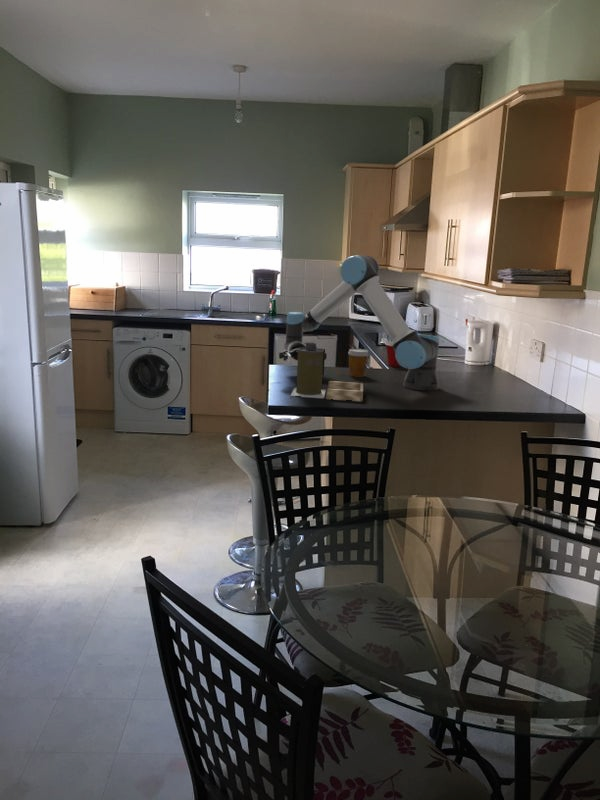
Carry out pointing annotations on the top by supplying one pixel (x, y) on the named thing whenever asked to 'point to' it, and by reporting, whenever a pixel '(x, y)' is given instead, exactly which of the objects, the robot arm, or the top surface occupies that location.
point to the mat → (309, 395)
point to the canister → (310, 369)
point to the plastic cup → (391, 355)
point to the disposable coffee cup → (357, 362)
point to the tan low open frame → (345, 391)
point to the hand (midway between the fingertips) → (306, 359)
